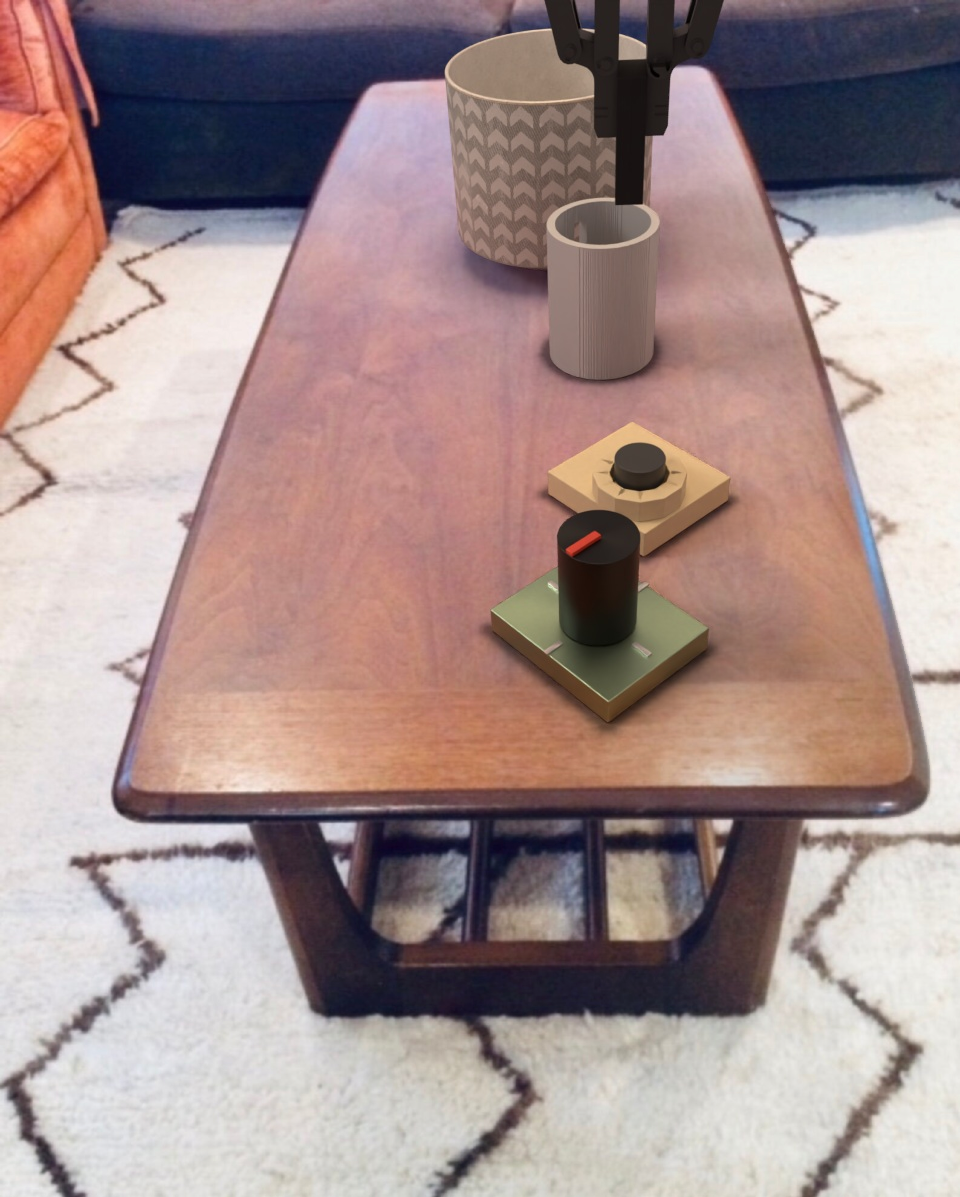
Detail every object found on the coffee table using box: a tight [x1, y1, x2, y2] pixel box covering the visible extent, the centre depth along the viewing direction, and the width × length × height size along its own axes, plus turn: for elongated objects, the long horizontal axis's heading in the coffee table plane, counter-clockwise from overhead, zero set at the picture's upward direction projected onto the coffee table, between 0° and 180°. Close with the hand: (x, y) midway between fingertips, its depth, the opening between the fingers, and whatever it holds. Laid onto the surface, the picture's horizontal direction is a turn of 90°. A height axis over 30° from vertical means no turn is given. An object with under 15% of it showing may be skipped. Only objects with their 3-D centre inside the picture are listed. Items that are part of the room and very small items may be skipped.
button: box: [614, 442, 666, 491], centre depth 78 cm, size 4×4×2 cm
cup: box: [546, 198, 661, 381], centre depth 93 cm, size 9×9×12 cm
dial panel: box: [490, 565, 710, 723], centre depth 72 cm, size 11×9×2 cm
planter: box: [444, 28, 654, 271], centre depth 105 cm, size 19×19×18 cm
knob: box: [556, 510, 641, 646], centre depth 68 cm, size 5×5×7 cm
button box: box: [547, 421, 731, 557], centre depth 81 cm, size 10×9×4 cm
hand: (628, 193), depth 60 cm, fingers closed
